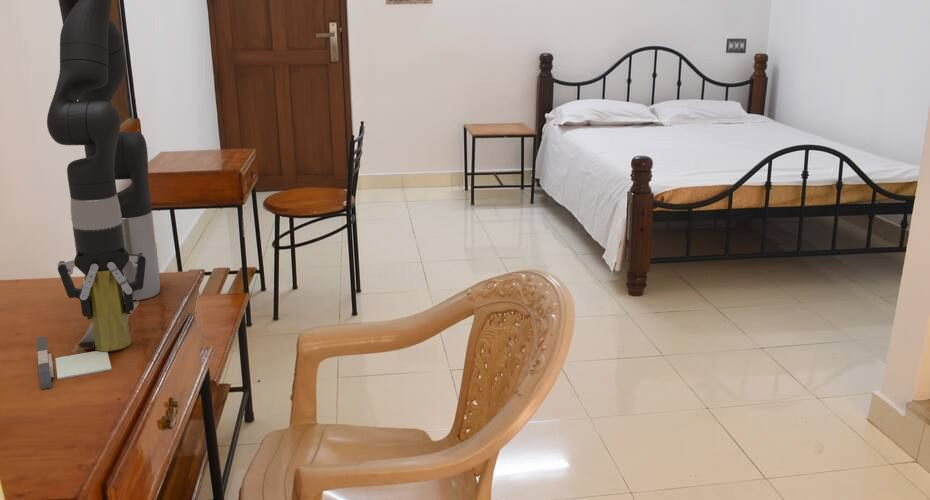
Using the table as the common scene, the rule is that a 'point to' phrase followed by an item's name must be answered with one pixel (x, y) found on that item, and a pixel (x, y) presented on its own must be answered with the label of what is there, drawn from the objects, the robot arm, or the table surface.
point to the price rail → (44, 363)
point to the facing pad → (82, 364)
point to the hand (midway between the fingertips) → (109, 314)
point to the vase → (108, 313)
